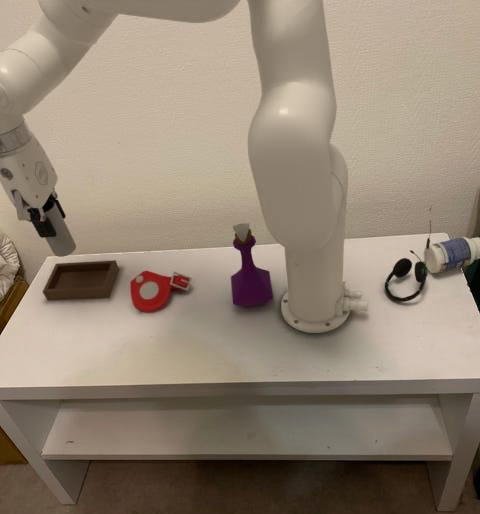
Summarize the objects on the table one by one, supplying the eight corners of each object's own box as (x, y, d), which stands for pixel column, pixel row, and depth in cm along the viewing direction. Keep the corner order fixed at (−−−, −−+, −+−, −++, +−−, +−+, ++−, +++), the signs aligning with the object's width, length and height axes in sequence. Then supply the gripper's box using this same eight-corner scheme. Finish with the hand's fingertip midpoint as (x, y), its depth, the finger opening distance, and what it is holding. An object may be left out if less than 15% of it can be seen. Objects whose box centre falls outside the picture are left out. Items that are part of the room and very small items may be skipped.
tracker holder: (143, 318, 91) (116, 283, 95) (151, 326, 95) (125, 293, 99) (193, 278, 93) (164, 246, 97) (199, 288, 97) (171, 257, 101)
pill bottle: (439, 272, 86) (491, 260, 87) (433, 243, 86) (484, 231, 87) (426, 275, 92) (474, 263, 92) (420, 247, 92) (468, 236, 92)
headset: (455, 191, 83) (403, 291, 80) (465, 214, 88) (416, 309, 86) (418, 187, 87) (368, 281, 85) (430, 210, 93) (383, 299, 90)
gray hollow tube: (65, 239, 97) (42, 196, 89) (81, 245, 95) (59, 201, 87) (49, 253, 94) (24, 210, 87) (65, 259, 93) (41, 215, 85)
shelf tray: (119, 269, 104) (115, 260, 102) (109, 297, 98) (105, 288, 96) (60, 272, 106) (55, 263, 104) (47, 300, 100) (42, 291, 98)
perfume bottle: (233, 288, 95) (218, 213, 82) (270, 283, 95) (261, 206, 81) (235, 315, 90) (219, 241, 77) (274, 310, 90) (265, 234, 76)
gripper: (7, 162, 71) (57, 256, 85) (45, 109, 82) (85, 199, 96) (-39, 166, 72) (18, 258, 86) (5, 113, 83) (50, 202, 97)
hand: (53, 226), depth 90 cm, fingers closed on gray hollow tube, 4 cm apart
